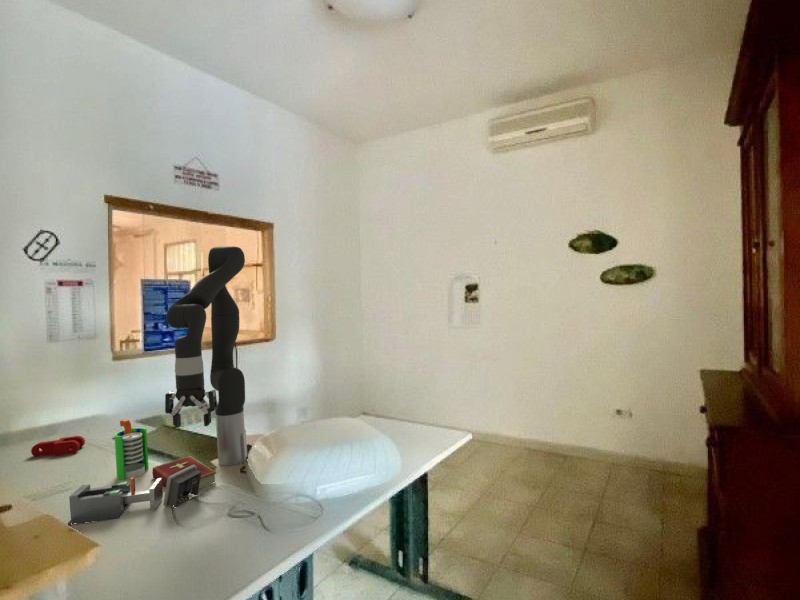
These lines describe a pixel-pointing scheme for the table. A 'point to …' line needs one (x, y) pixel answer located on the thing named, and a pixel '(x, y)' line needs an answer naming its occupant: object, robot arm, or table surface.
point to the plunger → (145, 494)
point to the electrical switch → (182, 486)
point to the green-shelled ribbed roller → (131, 451)
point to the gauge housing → (98, 503)
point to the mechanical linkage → (58, 446)
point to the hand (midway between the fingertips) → (192, 426)
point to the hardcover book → (180, 464)
